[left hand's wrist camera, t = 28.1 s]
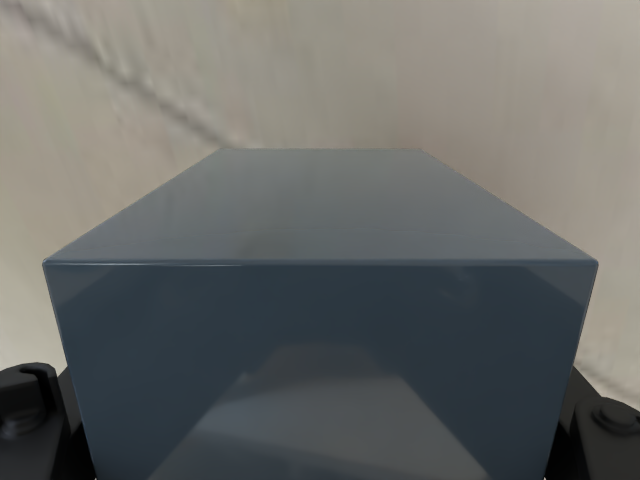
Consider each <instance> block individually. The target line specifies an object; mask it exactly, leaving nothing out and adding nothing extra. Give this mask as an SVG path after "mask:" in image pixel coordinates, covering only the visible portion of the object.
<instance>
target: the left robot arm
mask: <svg viewBox="0 0 640 480" xmlns="http://www.w3.org/2000/svg"><path fill="white" fill-rule="evenodd" d="M95 478H96V475H95V471H94V467H93V464H92V460H91V456H90V452H89V448H88V444H87V440H86V436H85V432H84V428H83V424H82V420H81V416H80V412H79V408H78V404H77V400H76V397H75V393H74V389H73V385H72V381H71V377H70V373H69V369H68V366H67V367H66V368H65V370H64V371H63V372H62V373H61V374H60V375H59V376H58V377H57V374H56V371H55V368H53V367H52V366H51V365H49V364H45V363H39V362H35V363H26V364H20V365H17V366H13V367H10V368H6V369H4V370H2V371H0V480H95ZM545 478H546V480H640V412H639V411H638V410H636V409H634V408H632V407H630V406H628V405H626V404H625V403H623V402H619V401H616V400H613V399H610V398H607V397H601V396H600V395H599V393H598V392H597V391H596V390H595V389H594V388H593V387H592V386H591V385H590V383H589V382H588V381H587V380H586V379H585V378H584V377H583V376H582V375H581V374H580V372H579V371H578V370H577V369H576V368H575V367H574V366H573V367H572V371H571V375H570V379H569V383H568V387H567V391H566V395H565V399H564V402H563V406H562V410H561V414H560V418H559V422H558V426H557V430H556V434H555V438H554V441H553V445H552V449H551V453H550V457H549V461H548V465H547V469H546V473H545Z"/></svg>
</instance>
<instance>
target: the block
mask: <svg viewBox="0 0 640 480" xmlns="http://www.w3.org/2000/svg"><path fill="white" fill-rule="evenodd" d="M42 266H43V270H44V274H45V278H46V282H47V286H48V290H49V294H50V298H51V302H52V306H53V310H54V314H55V318H56V322H57V326H58V329H59V333H60V337H61V341H62V345H63V349H64V353H65V357H66V361H67V365H68V369H69V373H70V377H71V381H72V385H73V389H74V393H75V397H76V400H77V404H78V408H79V412H80V416H81V420H82V424H83V428H84V432H85V436H86V440H87V444H88V448H89V452H90V456H91V460H92V464H93V467H94V471H95V475H96V479H97V480H544V477H545V473H546V469H547V465H548V461H549V457H550V453H551V449H552V445H553V441H554V438H555V434H556V430H557V426H558V422H559V418H560V414H561V410H562V406H563V402H564V399H565V395H566V391H567V387H568V383H569V379H570V375H571V371H572V367H573V363H574V359H575V356H576V352H577V348H578V344H579V340H580V336H581V332H582V328H583V324H584V320H585V316H586V313H587V309H588V305H589V301H590V297H591V293H592V289H593V285H594V281H595V277H596V273H597V270H598V261H597V260H596V259H595V258H593V257H591V256H590V255H588V254H587V253H585V252H584V251H582V250H580V249H579V248H577V247H576V246H574V245H572V244H571V243H569V242H568V241H566V240H564V239H563V238H561V237H560V236H558V235H557V234H555V233H553V232H552V231H550V230H549V229H547V228H545V227H544V226H542V225H541V224H539V223H537V222H536V221H534V220H533V219H531V218H530V217H528V216H526V215H525V214H523V213H522V212H520V211H518V210H517V209H515V208H514V207H512V206H510V205H509V204H507V203H506V202H504V201H503V200H501V199H499V198H498V197H496V196H495V195H493V194H491V193H490V192H488V191H487V190H485V189H483V188H482V187H480V186H479V185H477V184H476V183H474V182H472V181H471V180H469V179H468V178H466V177H464V176H463V175H461V174H460V173H458V172H457V171H455V170H453V169H452V168H450V167H449V166H447V165H445V164H444V163H442V162H441V161H439V160H437V159H436V158H434V157H433V156H431V155H430V154H428V153H426V152H425V151H423V150H422V149H218V150H217V151H215V152H214V153H212V154H210V155H209V156H207V157H206V158H204V159H202V160H201V161H199V162H198V163H196V164H195V165H193V166H191V167H190V168H188V169H187V170H185V171H183V172H182V173H180V174H179V175H177V176H176V177H174V178H172V179H171V180H169V181H168V182H166V183H164V184H163V185H161V186H160V187H158V188H157V189H155V190H153V191H152V192H150V193H149V194H147V195H145V196H144V197H142V198H141V199H139V200H138V201H136V202H134V203H133V204H131V205H130V206H128V207H126V208H125V209H123V210H122V211H120V212H119V213H117V214H115V215H114V216H112V217H111V218H109V219H107V220H106V221H104V222H103V223H101V224H100V225H98V226H96V227H95V228H93V229H92V230H90V231H88V232H87V233H85V234H84V235H82V236H81V237H79V238H77V239H76V240H74V241H73V242H71V243H69V244H68V245H66V246H65V247H63V248H62V249H60V250H58V251H57V252H55V253H54V254H52V255H50V256H49V257H47V258H46V259H44V260H43V264H42Z"/></svg>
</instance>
